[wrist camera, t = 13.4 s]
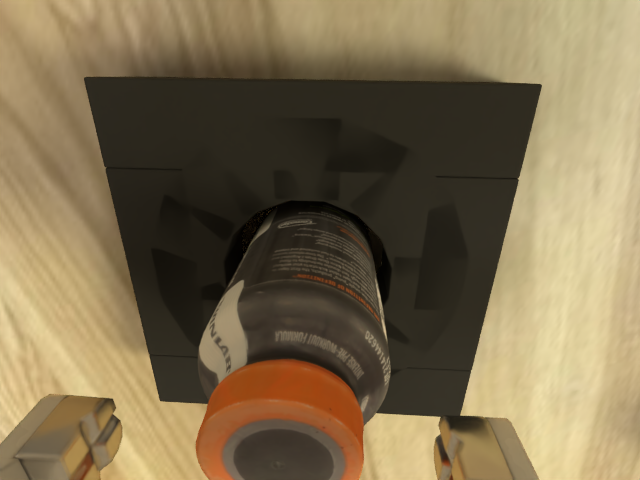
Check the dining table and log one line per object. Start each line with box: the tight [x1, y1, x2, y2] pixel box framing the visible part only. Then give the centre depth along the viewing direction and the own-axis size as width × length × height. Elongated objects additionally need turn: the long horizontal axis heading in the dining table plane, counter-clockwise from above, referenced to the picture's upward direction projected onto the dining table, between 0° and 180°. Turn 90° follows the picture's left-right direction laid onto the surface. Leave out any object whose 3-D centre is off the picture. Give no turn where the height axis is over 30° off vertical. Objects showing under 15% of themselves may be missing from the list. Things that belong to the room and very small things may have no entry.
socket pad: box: [84, 77, 542, 417], centre depth 17 cm, size 16×16×3 cm
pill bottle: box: [196, 200, 391, 480], centre depth 13 cm, size 6×6×11 cm
